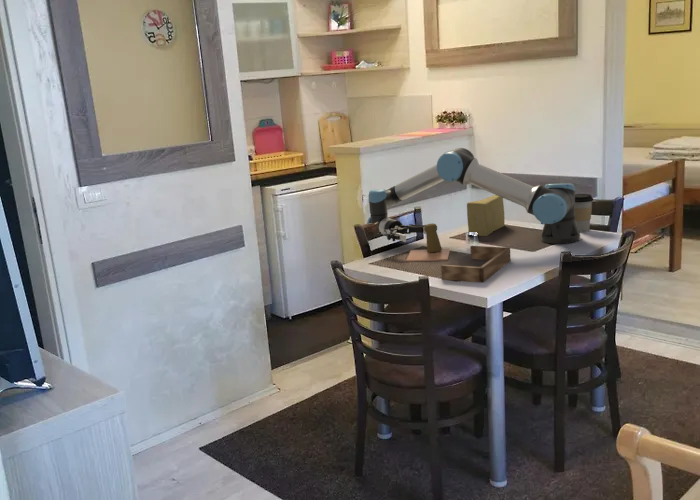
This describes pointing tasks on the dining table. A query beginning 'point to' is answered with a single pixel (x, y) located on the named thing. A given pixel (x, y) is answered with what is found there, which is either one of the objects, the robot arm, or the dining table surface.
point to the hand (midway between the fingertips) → (419, 235)
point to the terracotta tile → (428, 255)
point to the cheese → (485, 215)
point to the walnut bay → (478, 274)
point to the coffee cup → (583, 211)
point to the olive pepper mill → (432, 238)
